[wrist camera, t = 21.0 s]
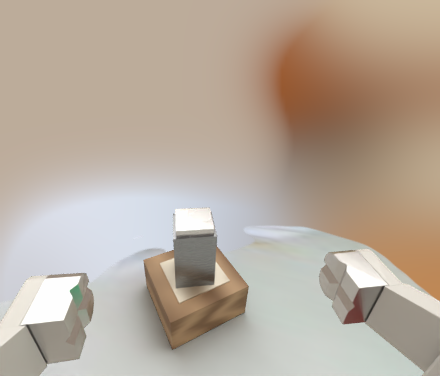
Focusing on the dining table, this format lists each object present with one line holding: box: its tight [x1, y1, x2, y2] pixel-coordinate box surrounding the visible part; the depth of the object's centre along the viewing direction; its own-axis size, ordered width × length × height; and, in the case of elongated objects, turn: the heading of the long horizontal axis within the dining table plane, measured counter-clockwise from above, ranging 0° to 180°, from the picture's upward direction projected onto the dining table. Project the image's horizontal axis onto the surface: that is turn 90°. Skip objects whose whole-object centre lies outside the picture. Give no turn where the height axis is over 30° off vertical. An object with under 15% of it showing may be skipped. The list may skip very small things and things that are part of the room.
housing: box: [173, 208, 217, 288], centre depth 37 cm, size 6×6×10 cm
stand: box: [144, 246, 249, 350], centre depth 41 cm, size 12×12×6 cm
